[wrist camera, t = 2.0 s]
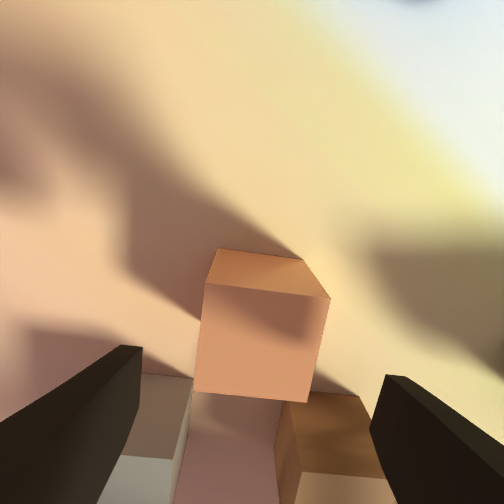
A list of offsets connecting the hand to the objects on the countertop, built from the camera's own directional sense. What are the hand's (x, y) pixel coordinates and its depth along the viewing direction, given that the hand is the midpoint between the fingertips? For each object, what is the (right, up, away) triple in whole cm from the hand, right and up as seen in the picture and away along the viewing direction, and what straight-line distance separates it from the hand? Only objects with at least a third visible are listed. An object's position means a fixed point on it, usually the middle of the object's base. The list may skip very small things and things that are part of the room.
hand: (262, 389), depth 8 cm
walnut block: (+4, -7, +9) cm, 12 cm away
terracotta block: (0, +2, +7) cm, 7 cm away
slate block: (-6, -5, +9) cm, 12 cm away
